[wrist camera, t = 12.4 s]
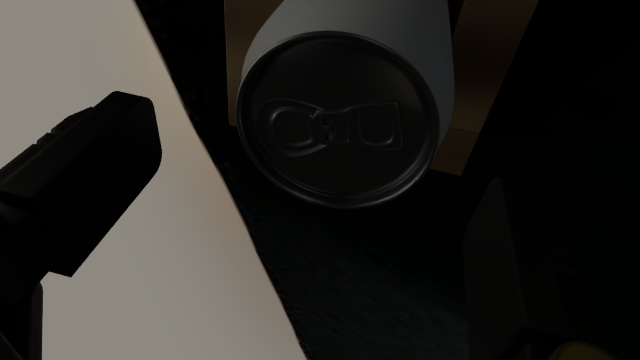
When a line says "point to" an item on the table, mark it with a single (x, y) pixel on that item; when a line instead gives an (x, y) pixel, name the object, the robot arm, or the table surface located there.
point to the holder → (467, 49)
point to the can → (347, 98)
